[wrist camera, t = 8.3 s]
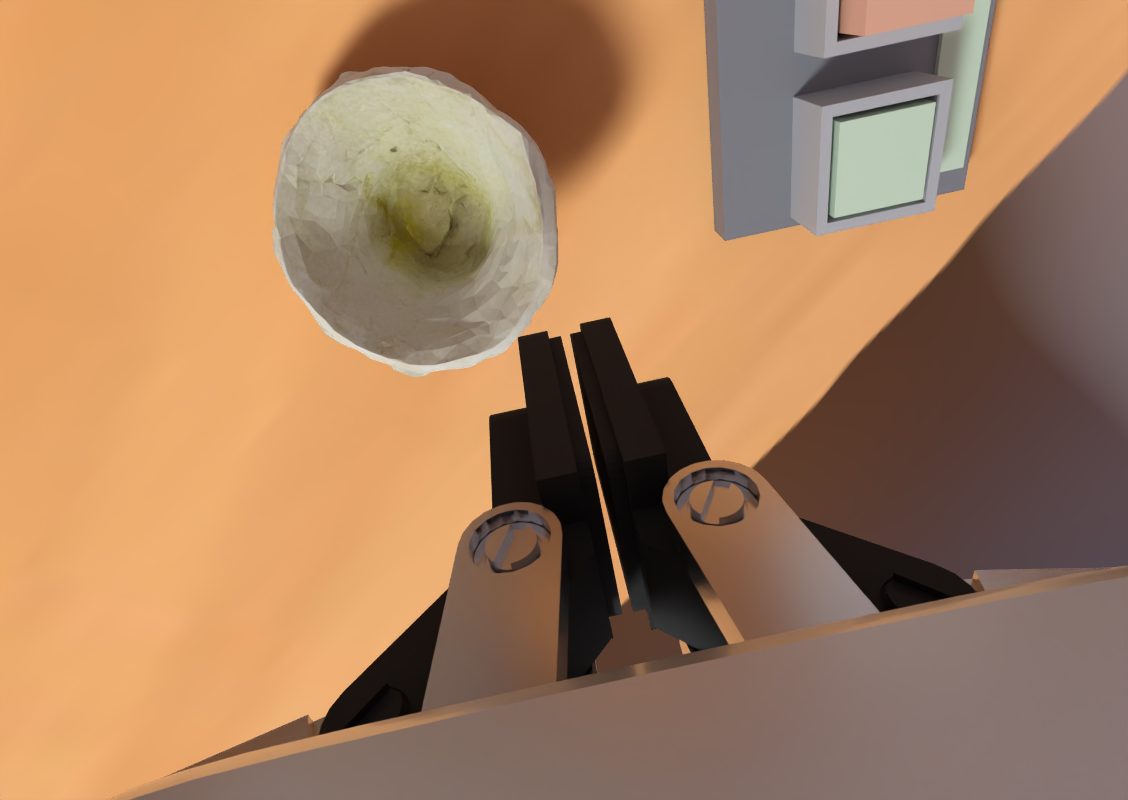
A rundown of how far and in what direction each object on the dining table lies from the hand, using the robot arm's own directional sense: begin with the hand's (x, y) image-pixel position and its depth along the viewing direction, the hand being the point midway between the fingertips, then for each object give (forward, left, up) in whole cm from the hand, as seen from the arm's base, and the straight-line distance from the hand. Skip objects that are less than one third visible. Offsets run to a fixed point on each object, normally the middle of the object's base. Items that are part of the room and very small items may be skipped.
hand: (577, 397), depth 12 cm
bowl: (+3, -6, -29) cm, 30 cm away
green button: (+5, +19, -26) cm, 33 cm away
